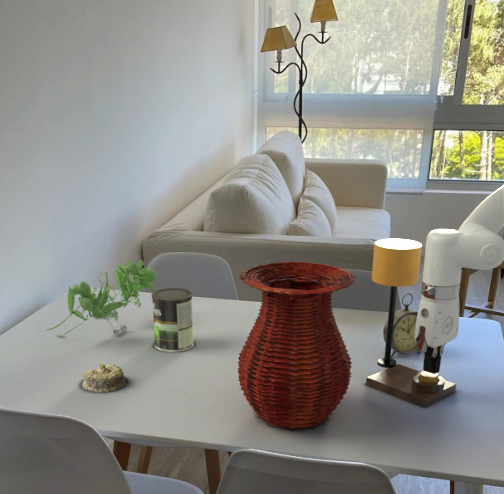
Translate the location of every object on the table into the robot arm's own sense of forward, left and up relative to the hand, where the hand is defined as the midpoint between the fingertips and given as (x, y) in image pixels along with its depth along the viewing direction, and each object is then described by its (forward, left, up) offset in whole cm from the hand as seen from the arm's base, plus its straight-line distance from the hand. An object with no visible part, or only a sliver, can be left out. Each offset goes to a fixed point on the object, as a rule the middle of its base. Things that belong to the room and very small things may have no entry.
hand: (431, 371), depth 155 cm
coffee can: (+63, +23, -6) cm, 67 cm away
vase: (+14, +29, -6) cm, 33 cm away
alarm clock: (+19, -16, -6) cm, 25 cm away
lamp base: (+5, 0, -6) cm, 8 cm away
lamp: (+12, 0, -2) cm, 12 cm away
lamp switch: (0, 0, -2) cm, 2 cm away
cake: (+54, +50, -6) cm, 74 cm away
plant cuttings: (+84, +31, -6) cm, 90 cm away
